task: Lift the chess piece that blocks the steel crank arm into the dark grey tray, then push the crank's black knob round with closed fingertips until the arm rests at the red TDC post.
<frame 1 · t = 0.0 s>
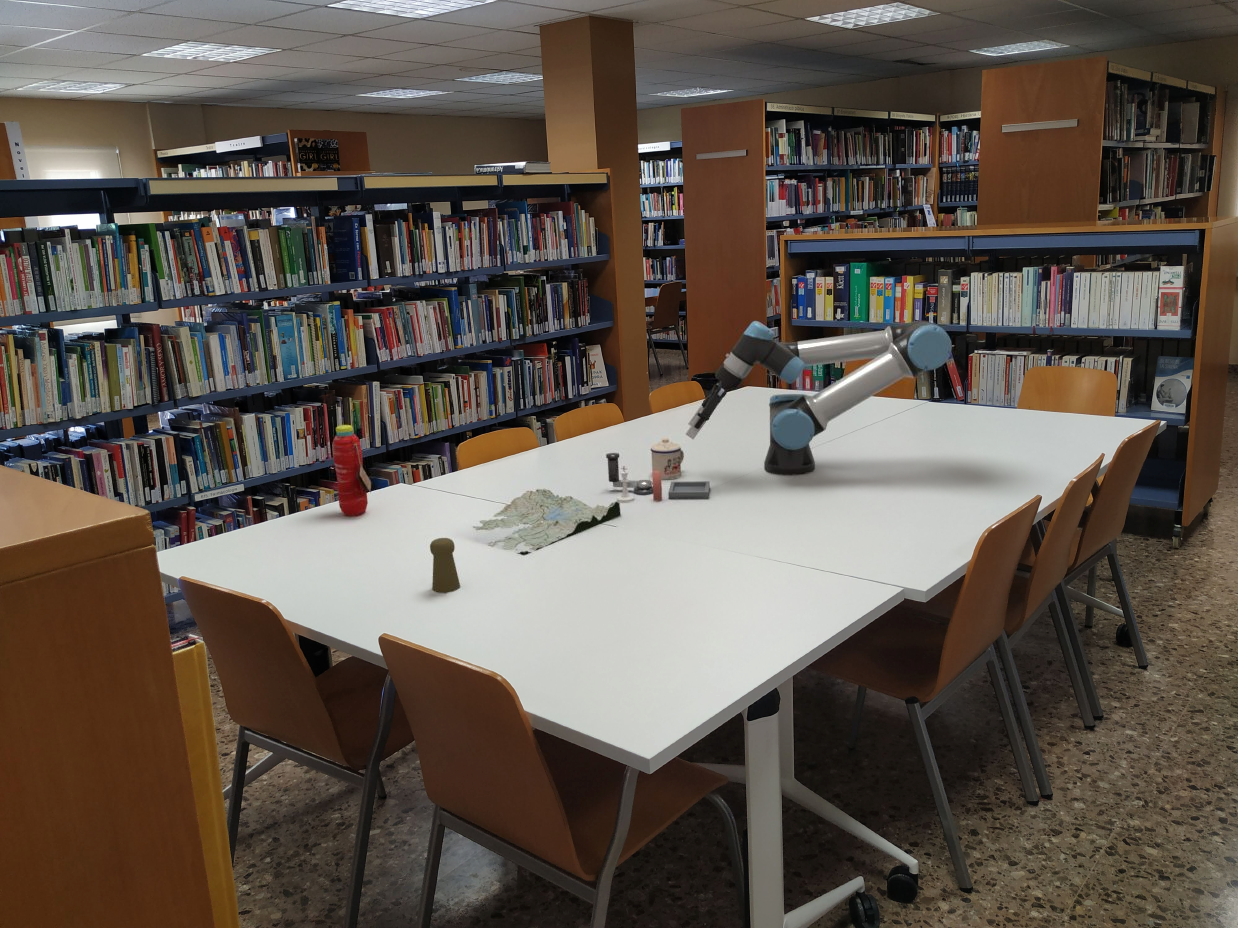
hand: (690, 431, 270), 15 cm above the table, tool tilted 35°, fingers open, 13 cm apart
chess piece: (625, 500, 259), on the table
topographic map model: (534, 527, 242), on the table
tray: (689, 493, 263), on the table
tdc post: (657, 499, 258), on the table
water bottle: (358, 514, 259), on the table
cork: (446, 588, 202), on the table
crank arm: (628, 470, 266), point 6 cm above the table, hinge at -10.0°
teacup with lid: (670, 475, 283), on the table
crank base: (644, 491, 266), on the table
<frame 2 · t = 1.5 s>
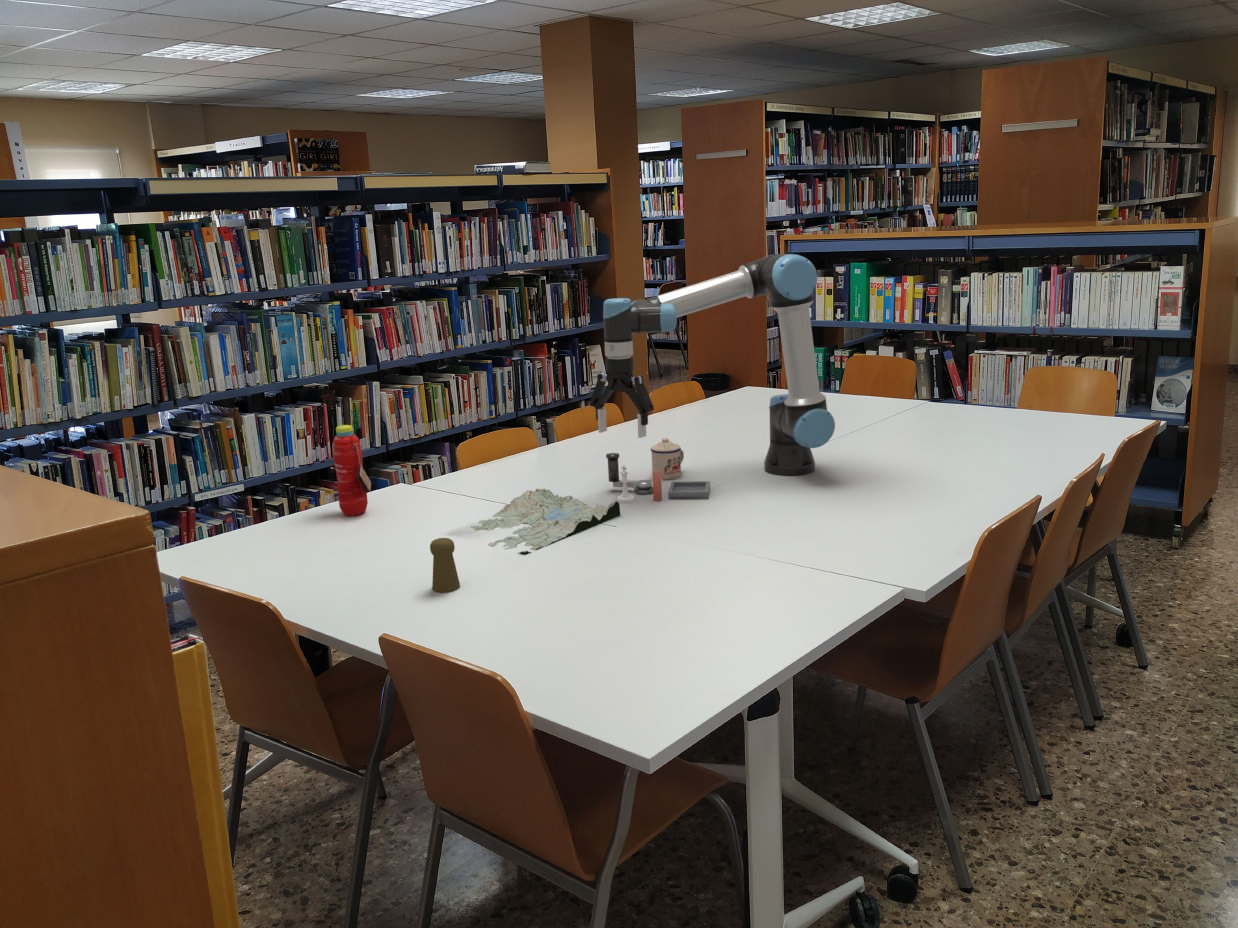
hand: (622, 434, 255), 19 cm above the table, tool pointing down, fingers open, 13 cm apart
nothing on the table moved.
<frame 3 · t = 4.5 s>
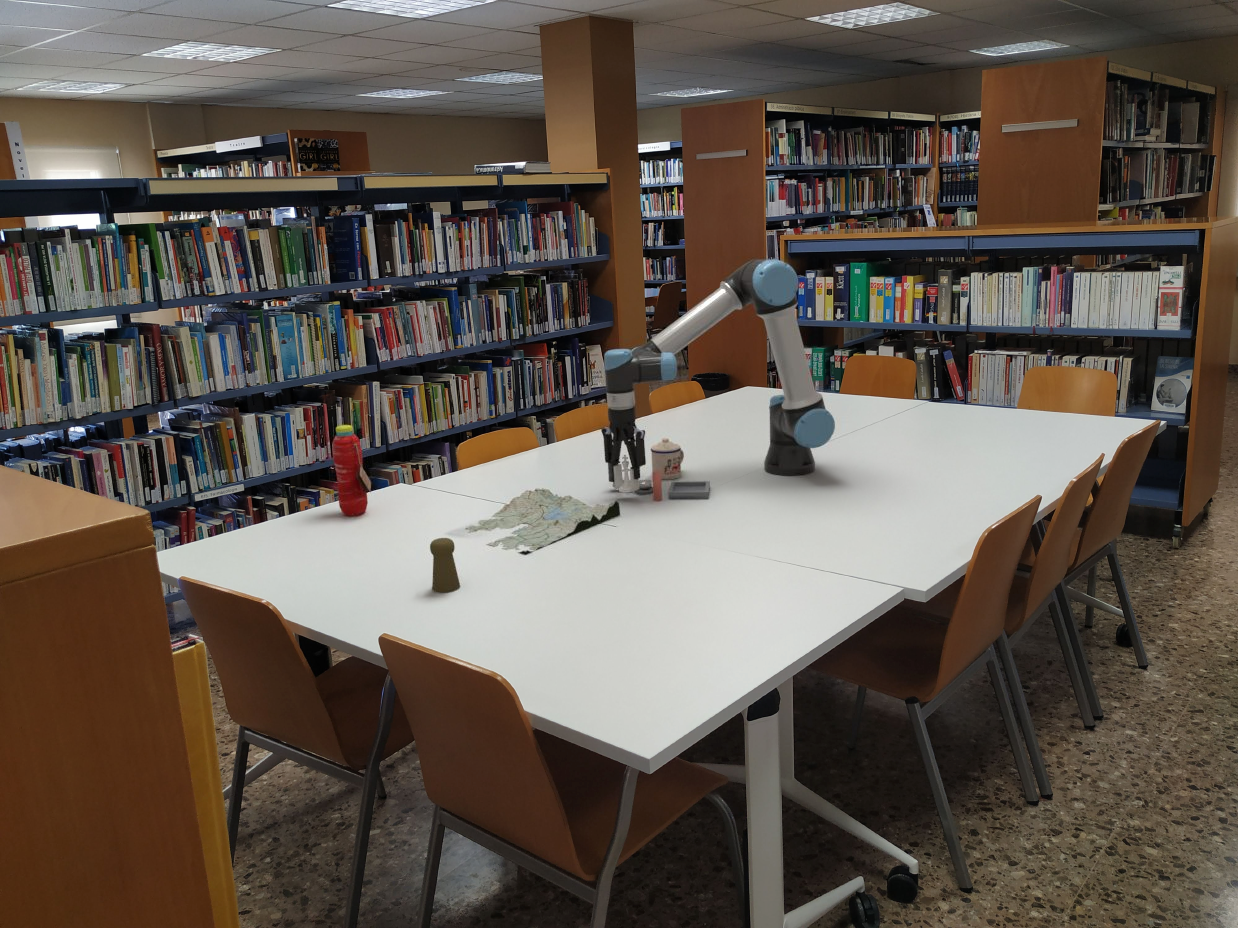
hand: (627, 488, 259), 3 cm above the table, tool pointing down, fingers closed on chess piece, 5 cm apart
chess piece: (627, 490, 259), point 3 cm above the table, touching gripper
everything else where it was.
when the fingers open (2 cm above the table, at t = 8.8 s): chess piece stays where it is, resting on tray.
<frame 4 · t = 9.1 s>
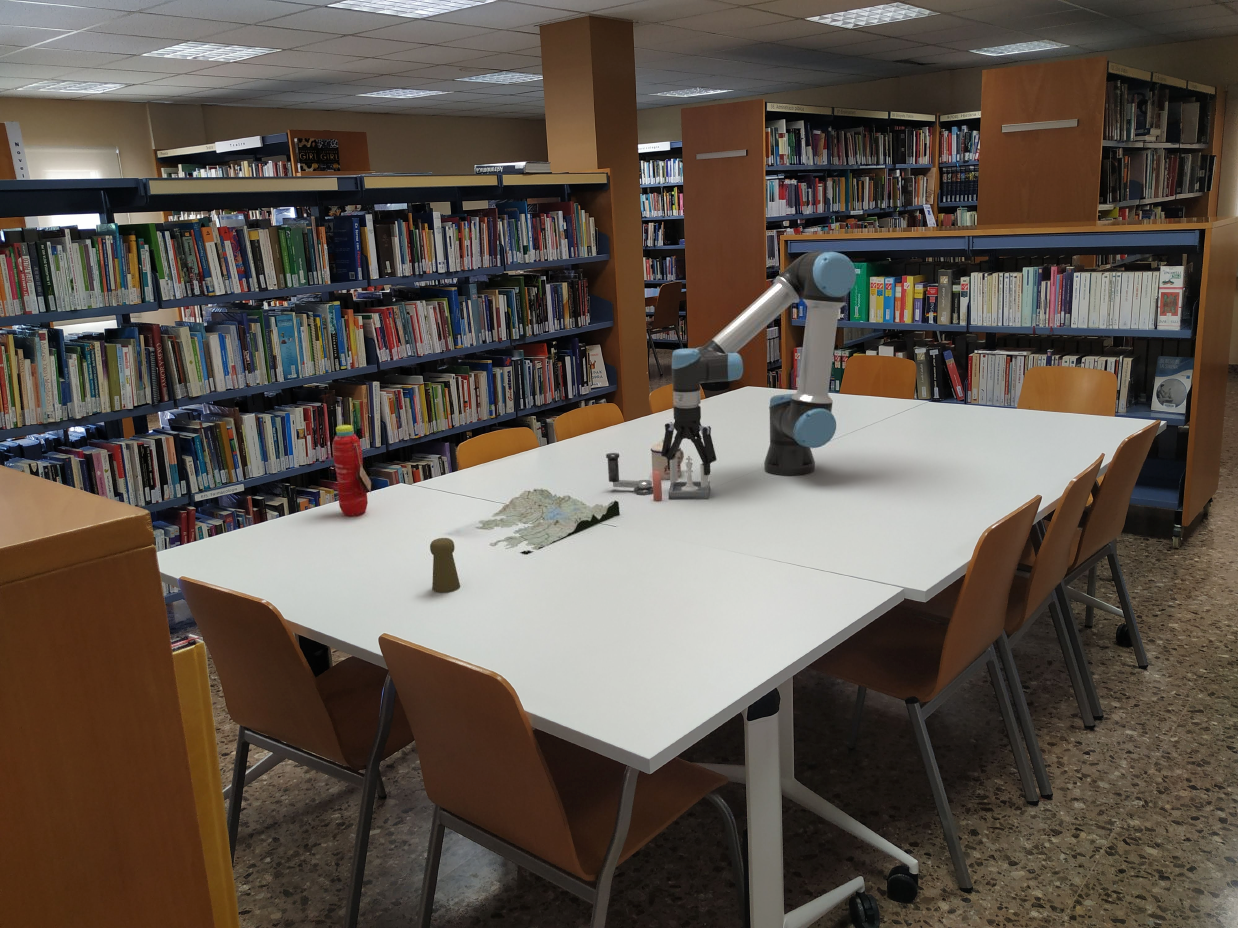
hand: (689, 483, 262), 3 cm above the table, tool pointing down, fingers open, 9 cm apart
chess piece: (689, 491, 263), point 1 cm above the table, touching tray
everything else where it was.
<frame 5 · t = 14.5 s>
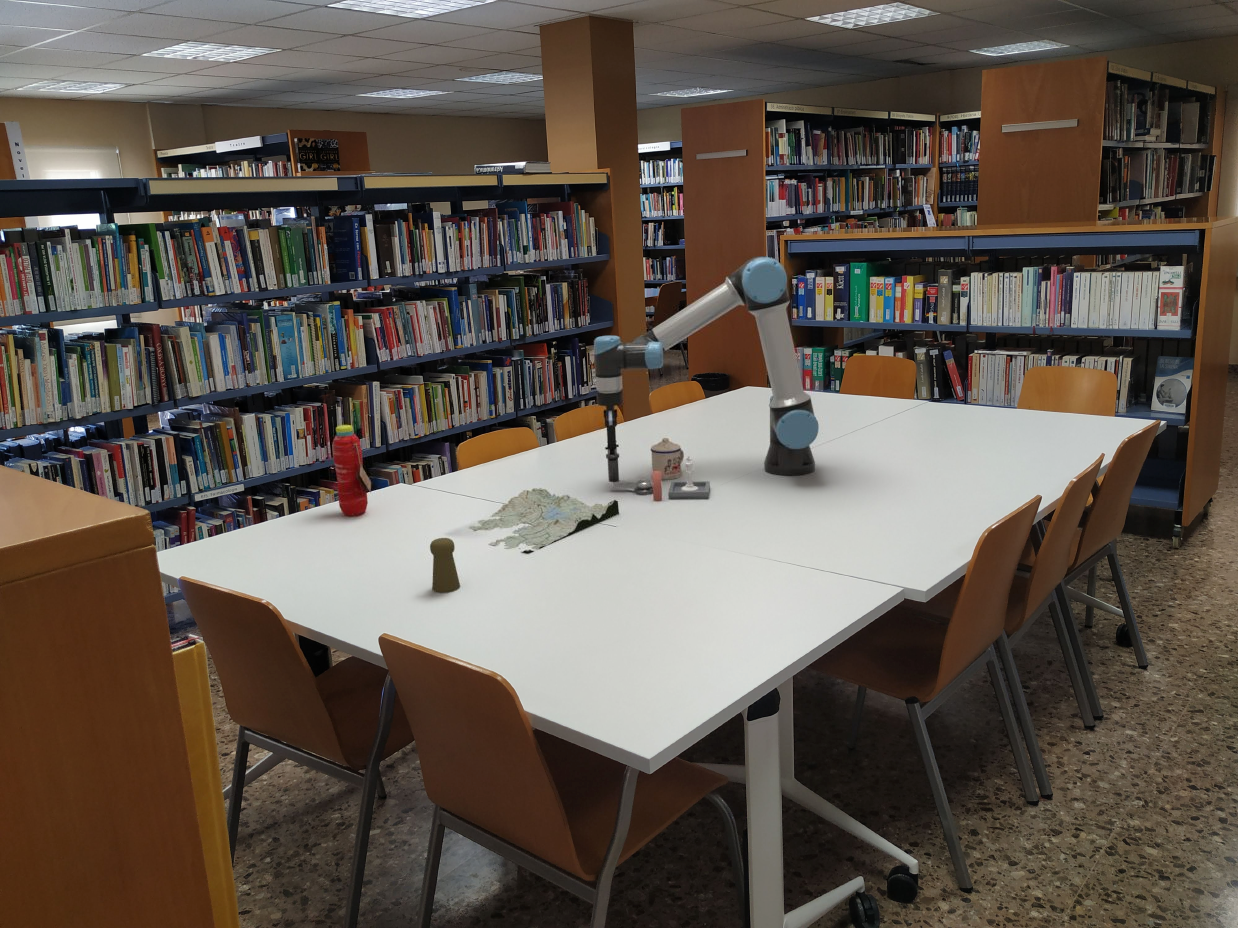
hand: (613, 470, 272), 5 cm above the table, tool pointing down, fingers closed
crank arm: (628, 470, 266), point 6 cm above the table, hinge at -9.5°, touching gripper
everything else where it was.
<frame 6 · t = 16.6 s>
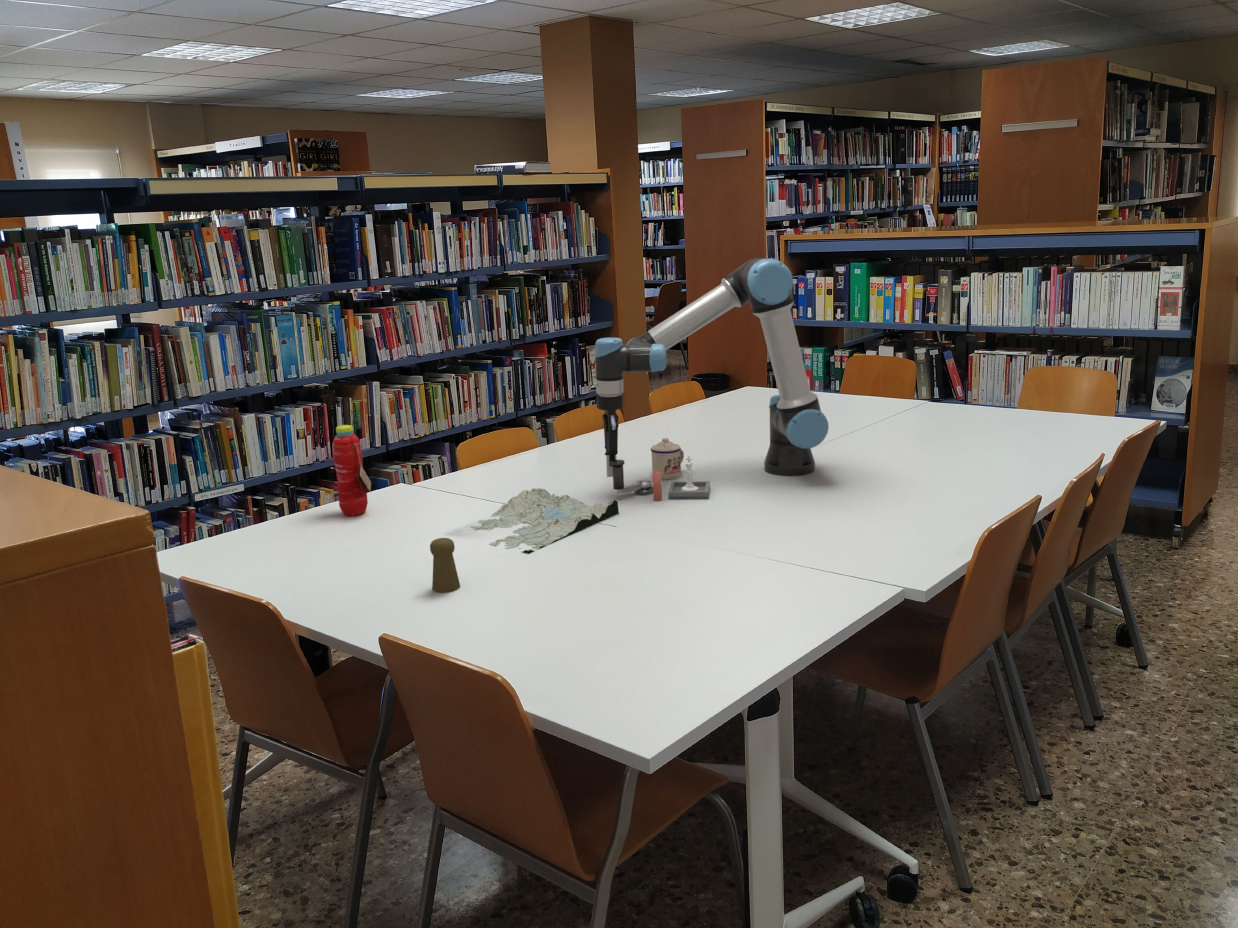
hand: (611, 476, 264), 5 cm above the table, tool pointing down, fingers closed
crank arm: (631, 474, 262), point 6 cm above the table, hinge at 44.3°, touching gripper
everything else where it was.
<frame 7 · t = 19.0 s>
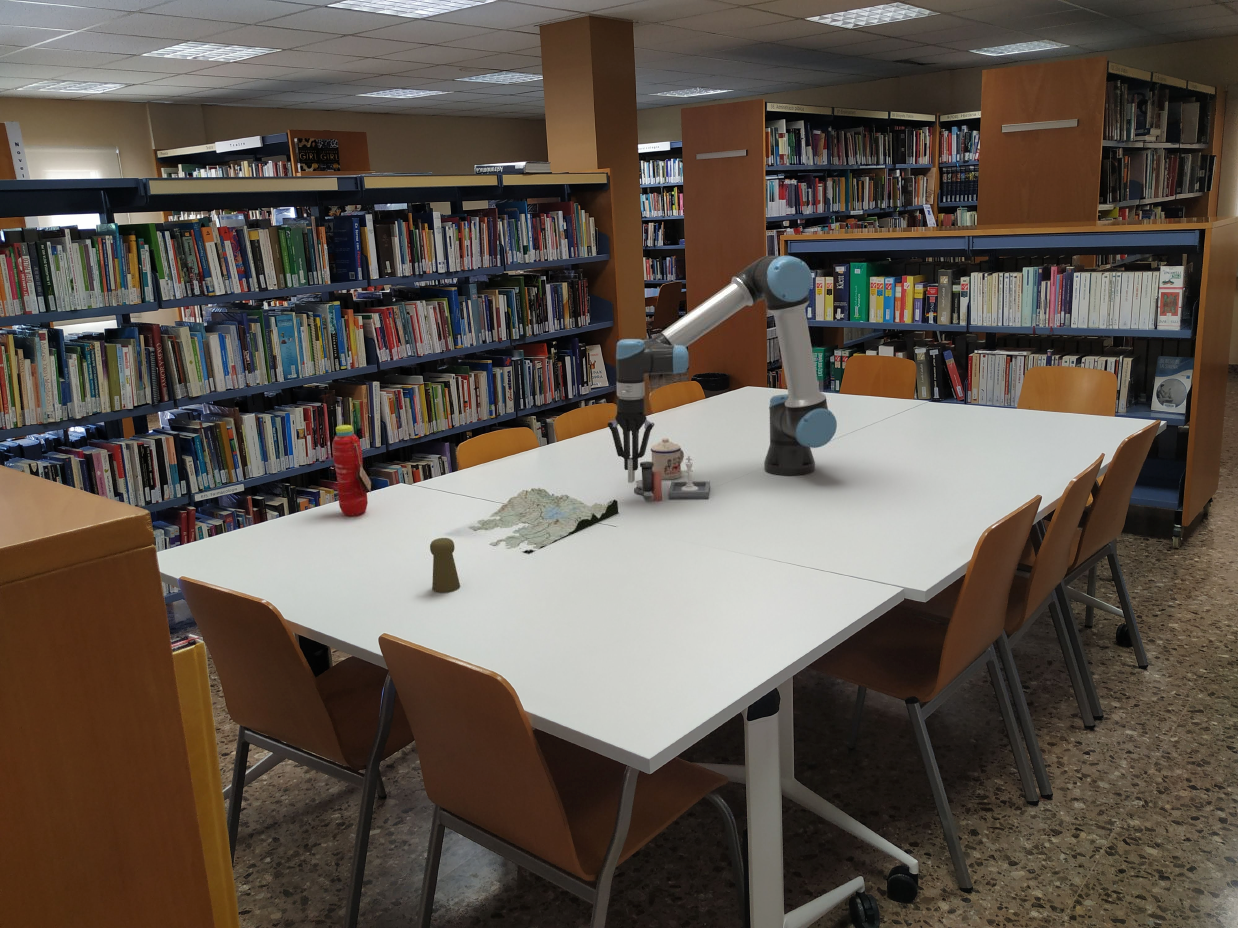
hand: (631, 481, 257), 6 cm above the table, tool pointing down, fingers closed
crank arm: (645, 475, 261), point 6 cm above the table, hinge at 102.8°, touching gripper, tdc post
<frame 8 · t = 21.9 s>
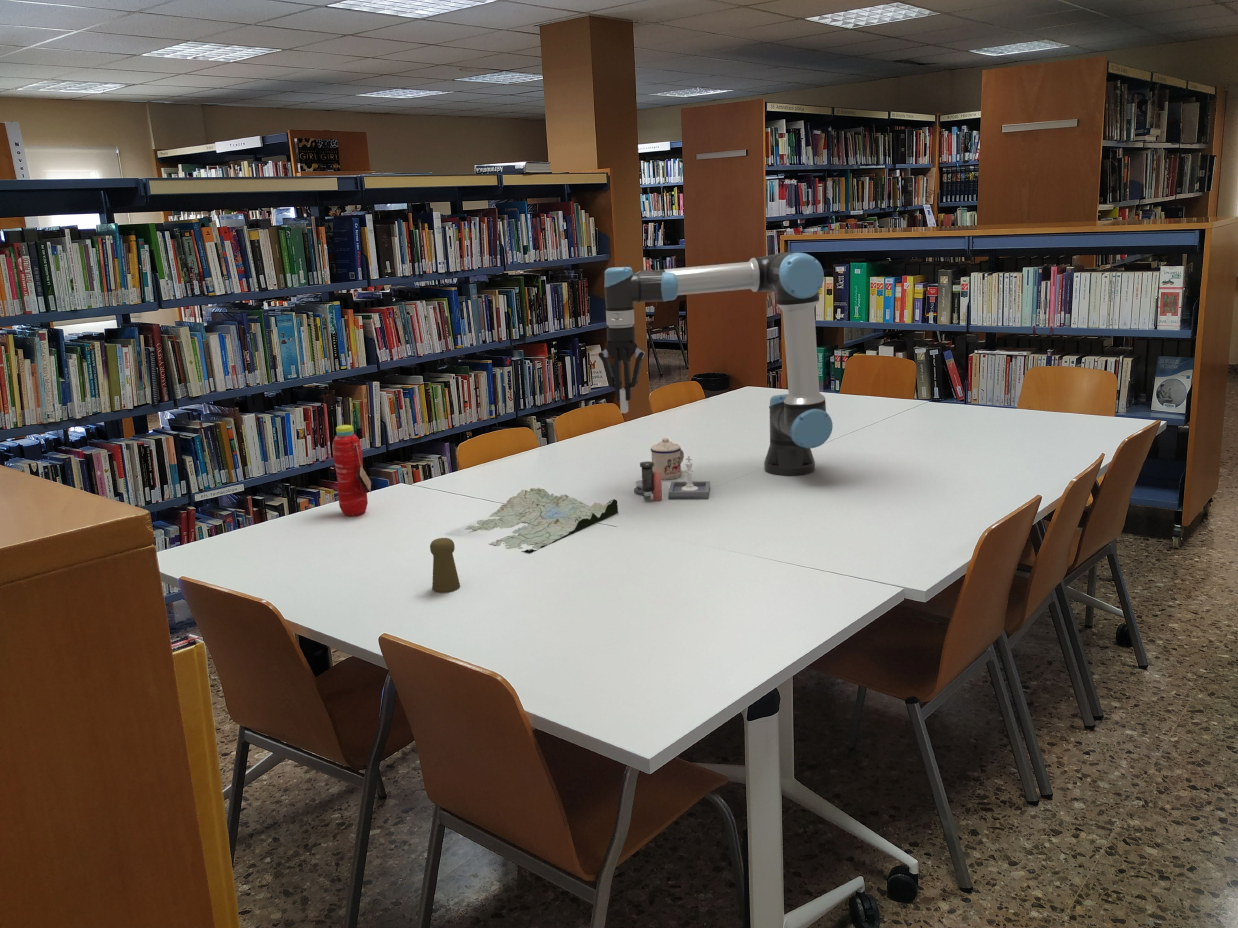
hand: (624, 412, 256), 24 cm above the table, tool pointing down, fingers closed
crank arm: (645, 475, 261), point 6 cm above the table, hinge at 102.8°, touching tdc post
at the end: chess piece inside the target area on the tray (0.1 cm from its centre), point 0.6 cm above the tray's base; crank arm at +103° (first picture: -10°) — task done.
